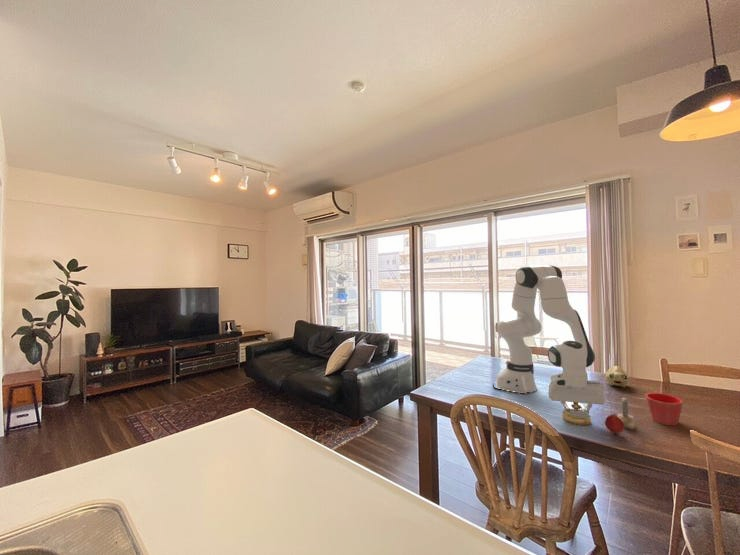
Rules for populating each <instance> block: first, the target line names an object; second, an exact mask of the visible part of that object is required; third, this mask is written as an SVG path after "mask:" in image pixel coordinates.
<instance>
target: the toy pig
mask: <svg viewBox="0 0 740 555" xmlns="http://www.w3.org/2000/svg"><path fill="white" fill-rule="evenodd" d="M605 378H606V380H607V381H608V383H609V385H610V387H611V386H617V387H622V388H626V385H627V384H628V383H629V381H630V377H629V376H628V374H627V373H626V371H625V370H624V369H623V368H622V367H620V366H618V365H613V366H611V367H609V368H608V370H606V373H605Z"/></svg>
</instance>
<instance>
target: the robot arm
mask: <svg viewBox="0 0 740 555" xmlns="http://www.w3.org/2000/svg"><path fill="white" fill-rule="evenodd" d="M562 278H563V272H562V270H561V269H560V267H558V266H556V265H550V264H549V265H546V264H538V265H525V266H520V267H519V268H518V269H517V270H516V273H515V280H516V281H515V283H514V288H513V292H512V300H511V308H512V310H514V311H515V312H516V313H517V316H516V317H514V318H513V317H512V318H507V319H503V320H502V321H500V322H498V324H497V326H496V327H497V330H496V331H497V334H498V335H499V336H500V337H501V338H502V339H503V340H504V341H505V342H506V344H507V346H508V349H509V351H508V352H509V360H508V359H507V360H506V361H505V364H506V368H505V369H503V370H501V371H500V372H498V374H497V376H496V380H497V382H495V383H496V387H498V388H500V389H504V390H509V391H515V392H519V393H518V394H520V393H525V394H528V393H527V392H529V393H534V392H536V391H538V387H537V385H536V380H535V377H534V376H535V373H534V372H535V367H534V363H533V353H532V352H533V351H532V348H531V347H530V346H529V345H527V344H526V343H525V341H524V338H529V337H533V336H536V335H538V334H540V333H541V331H542V328H543V327H542V323H541V321H540V320H539V319H538V318H537V317H536V314H535V305H536V299H537V298H536V297H537V292H538V291H539V295H540V304H541V308H542V312H544V313H545V314H546V315H547V316H548V317H550V318H553V319H556V320H558V321H561V322H563V323H566V324H567V325H568V326H569V328H570V331H571V334H572V338H573V340H565V341H563V342H562V343H561V344H558V345H557V344H556V345H552V346H550V348H549V349H548V351H547V359H548V361H549V363H551V364H552V365H553V366H554V367H559V368H560V367H561V368H562V373H558V374H555V375H554V374H553V375H551V376H550V381H551V382H549V384H548V398H549V399H550V400H551V401H552V402H560V403H561V404H562V406H563V411H565V412H569V408H568V406H566V402H576V403H582V404H586V407H585V409H586V410H587V411H588V414H589V415H590V410H591V409H592V407H593V405H604V404H605V403H606V398H605V393H604V391H605V384H604V383H603V382H601V381H598V380H588V381H587V376H588V372H587V370H586V368H589V367H590V366H592V365H593V364H594V362H595V359H596V355H595V352H594V349H593V348H592V345H590V342H589V339H588V335H587V333H586V330H585V327H584V324H583V321H582V319H581V317H580V314H579V312H578V310H576V309H574V308H573V307H572V306H571V303H570V301H569V298H568V297H569V296H568V293H567V288H566V286H565V283H564V281H563V279H562ZM509 391H508V392H509ZM533 391H534V392H533Z"/></svg>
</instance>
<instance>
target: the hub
mask: <svg viewBox="0 0 740 555" xmlns="http://www.w3.org/2000/svg"><path fill="white" fill-rule="evenodd" d="M573 408H578V403H576V402H573ZM563 419H564V420H565V421H564V420H563ZM562 420H563V421H564V422H566V423H568V424H570V423H571V425H573V424H575V426H578V425H580V426H579V427H587V425H588V426H590V425H591V424H592V417H591V415H590V413H589V414H588V419H581V418H571V416H570V414H569V413H568V412H565V411H564V410H562Z"/></svg>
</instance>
